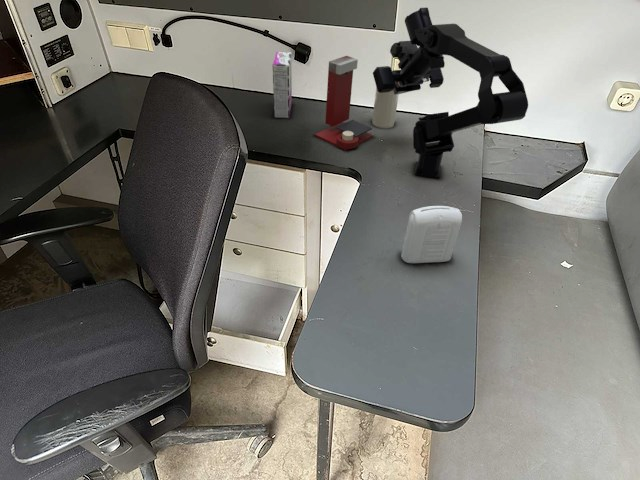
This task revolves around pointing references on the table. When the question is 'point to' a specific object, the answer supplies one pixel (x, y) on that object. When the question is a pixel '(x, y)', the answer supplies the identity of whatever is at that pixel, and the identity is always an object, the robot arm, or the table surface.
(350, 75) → the coffee maker tower
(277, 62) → the candy bar box
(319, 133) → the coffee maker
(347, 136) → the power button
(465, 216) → the table surface
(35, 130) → the table surface
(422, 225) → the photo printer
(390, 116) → the tumbler
